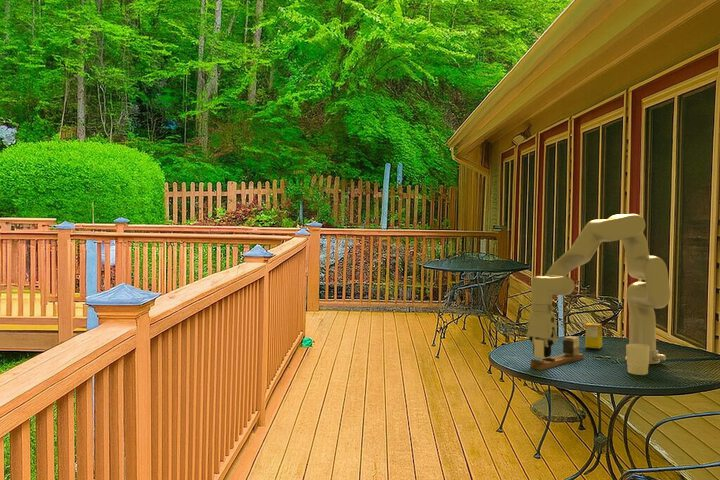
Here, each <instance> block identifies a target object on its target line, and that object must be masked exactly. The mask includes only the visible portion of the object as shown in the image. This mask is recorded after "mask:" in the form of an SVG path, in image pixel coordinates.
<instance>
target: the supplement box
mask: <svg viewBox="0 0 720 480" xmlns="http://www.w3.org/2000/svg"><path fill="white" fill-rule="evenodd" d="M602 324H603V323H597V322H596V323H595V322H587V323H585V325H584V327H585V328H584V329H585V331H584V332H585V339H584V340H585V349H586V350H594V351H595V350H597V351H600V350H601V349H602V348H603V325H602Z"/></svg>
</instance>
